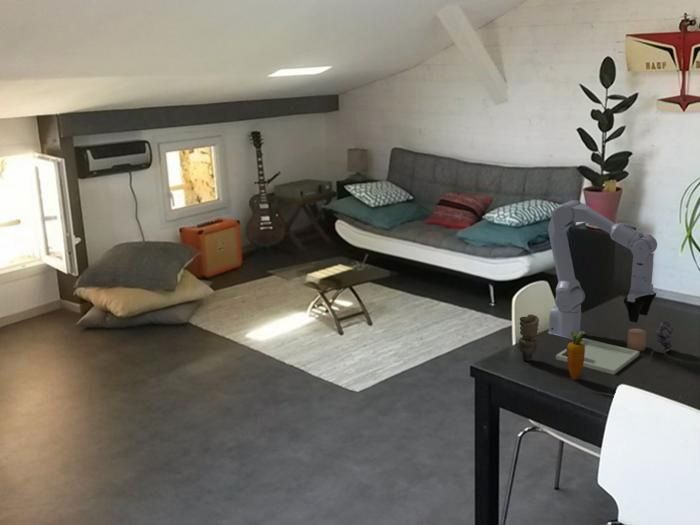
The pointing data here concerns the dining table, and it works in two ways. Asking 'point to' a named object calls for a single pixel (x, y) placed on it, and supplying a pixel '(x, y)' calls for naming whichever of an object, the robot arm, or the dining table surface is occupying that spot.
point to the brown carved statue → (528, 336)
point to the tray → (603, 356)
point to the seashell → (665, 335)
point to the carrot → (575, 356)
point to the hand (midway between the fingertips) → (638, 318)
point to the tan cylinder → (636, 339)
